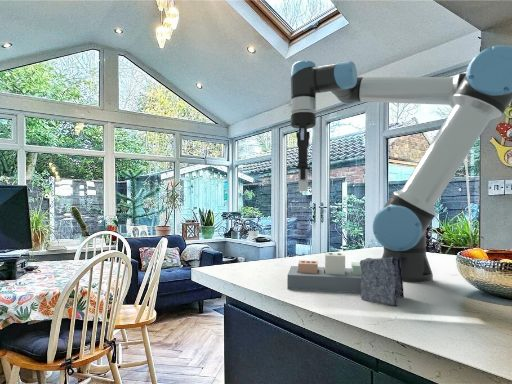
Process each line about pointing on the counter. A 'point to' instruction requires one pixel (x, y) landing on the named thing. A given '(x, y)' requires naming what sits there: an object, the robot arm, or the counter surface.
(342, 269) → the tile two
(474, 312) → the counter surface
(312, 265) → the tile three
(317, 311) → the counter surface
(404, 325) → the counter surface
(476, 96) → the robot arm
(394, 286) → the stone
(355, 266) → the tile one
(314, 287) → the key board
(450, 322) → the counter surface
